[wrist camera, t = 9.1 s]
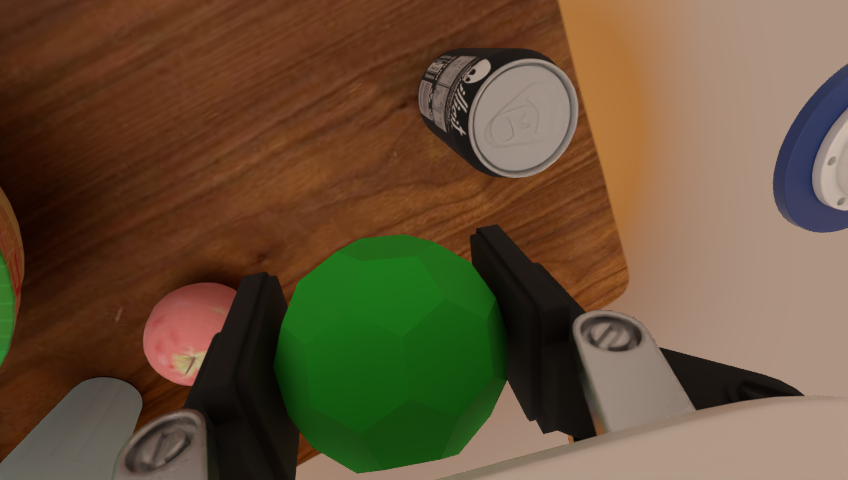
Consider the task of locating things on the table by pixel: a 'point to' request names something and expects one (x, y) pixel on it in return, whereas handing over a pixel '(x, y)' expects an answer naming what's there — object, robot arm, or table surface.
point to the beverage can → (500, 108)
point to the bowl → (9, 273)
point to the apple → (185, 329)
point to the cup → (78, 434)
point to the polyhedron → (391, 354)
